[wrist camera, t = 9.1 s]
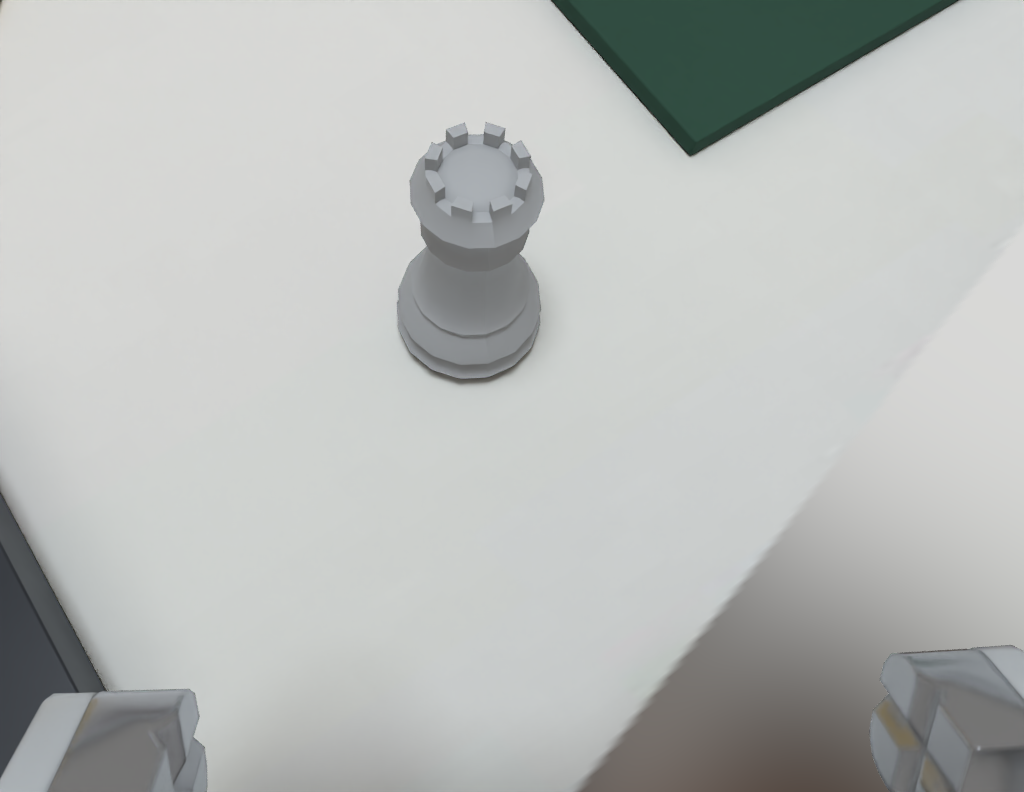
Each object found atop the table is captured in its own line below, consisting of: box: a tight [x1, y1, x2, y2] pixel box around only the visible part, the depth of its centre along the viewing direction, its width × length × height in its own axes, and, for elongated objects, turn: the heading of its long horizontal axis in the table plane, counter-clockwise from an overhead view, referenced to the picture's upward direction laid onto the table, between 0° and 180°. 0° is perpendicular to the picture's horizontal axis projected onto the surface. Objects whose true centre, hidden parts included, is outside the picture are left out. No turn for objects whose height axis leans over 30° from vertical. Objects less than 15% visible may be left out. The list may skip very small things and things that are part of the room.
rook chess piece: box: [397, 122, 544, 379], centre depth 24 cm, size 4×4×8 cm
